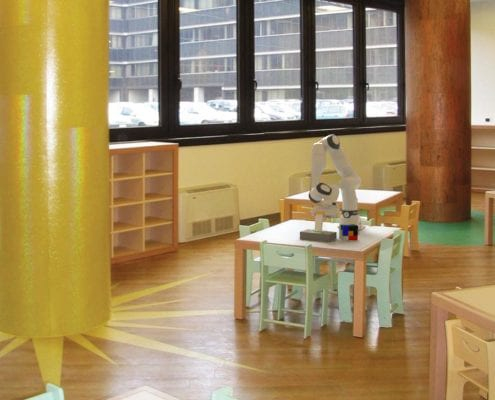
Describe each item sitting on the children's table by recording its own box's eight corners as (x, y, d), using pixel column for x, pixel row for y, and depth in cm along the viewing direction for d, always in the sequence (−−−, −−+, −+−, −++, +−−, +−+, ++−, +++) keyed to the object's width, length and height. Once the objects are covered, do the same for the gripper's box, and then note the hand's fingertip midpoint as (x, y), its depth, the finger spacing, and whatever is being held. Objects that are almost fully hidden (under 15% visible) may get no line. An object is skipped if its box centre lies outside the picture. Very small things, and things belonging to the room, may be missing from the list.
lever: (315, 229, 570) (316, 211, 570) (323, 230, 567) (324, 211, 567) (313, 230, 568) (314, 210, 567) (321, 230, 564) (322, 211, 564)
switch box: (307, 236, 578) (307, 228, 578) (336, 239, 567) (336, 231, 567) (299, 238, 568) (299, 231, 568) (328, 241, 557) (329, 234, 556)
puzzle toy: (343, 241, 561) (343, 226, 560) (339, 238, 571) (339, 224, 570) (357, 240, 563) (358, 225, 562) (353, 237, 573) (353, 223, 572)
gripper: (313, 201, 581) (306, 217, 574) (339, 203, 571) (333, 219, 564) (315, 207, 586) (309, 222, 579) (342, 209, 575) (336, 225, 568)
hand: (321, 221), depth 571 cm, fingers closed
